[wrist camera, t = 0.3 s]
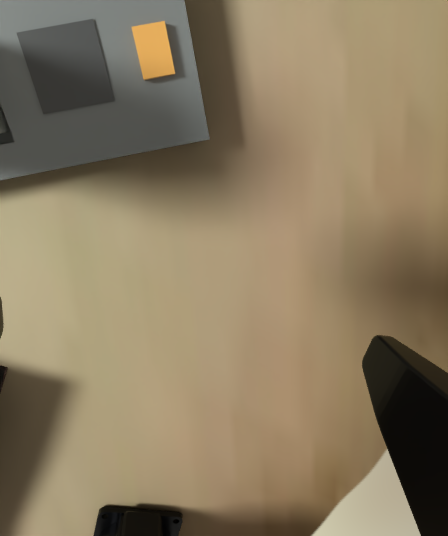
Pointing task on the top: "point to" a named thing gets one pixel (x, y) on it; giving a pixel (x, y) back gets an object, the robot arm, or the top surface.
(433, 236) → the top surface
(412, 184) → the top surface
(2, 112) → the charger
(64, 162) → the power strip
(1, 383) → the diary
